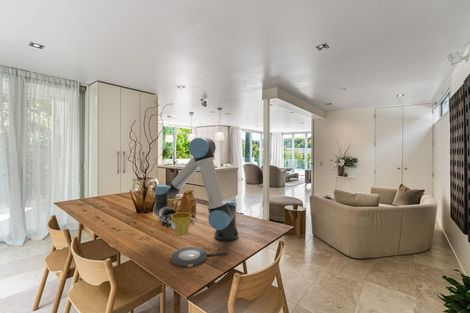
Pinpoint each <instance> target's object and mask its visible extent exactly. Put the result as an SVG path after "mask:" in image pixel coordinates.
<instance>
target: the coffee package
mask: <svg viewBox="0 0 470 313" xmlns="http://www.w3.org/2000/svg"><path fill="white" fill-rule="evenodd" d="M193 192H194V190H193V189H192V190H187V191H185V192H183V194H182V196H181V198H180V207H179V208H180V211H179V213H182V212H185V213H190V214H191V215H193V218H195V217H196V216H197V201H196V198H195V196H194V194H193Z"/></svg>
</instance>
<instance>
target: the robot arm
mask: <svg viewBox="0 0 470 313" xmlns="http://www.w3.org/2000/svg"><path fill="white" fill-rule="evenodd" d="M216 149H217V146H216V143H215V141H214V140H213V139H211V138H209V137H202V136H200V137H194V138H193V139H192V140H191V141H190V142H189V145H188V152H189V154H190V156H192V157H191V159H189V161H188V162H187V163H186V164H185V165H184V167H183V168H182V169H181V171H180V172H179V173H178V174H177V175H175V176H176V177H174V179H173V180H172V181H171V182H170V183H169V184H168V185H167V184H160V185H159V184H158V185H156V186H155V188H154V190H155V191H154V198H155V199H154V200H155V201H154V202H155V203H154V205H153V209H152V210H153V213H154V215H155V216H157V217H159V221H160V223H161V225H162V227H165V228H171V229H172V230H174V229H175V223H173V222H172V221H171V215H173V214H175V213H177V212H176V210H175V209H173V208H171V207H170V206H169V199H170V198H172V197H175V196H177V195H179V194H180V191H181V189H182V188H183V186H185V185H186V183H187V182H188V181H189V180H190V179H191V178H192V176H193V175H195V173H196V172H197V171H198V169H199V171H200V175H201V178H202V182H203V186H204V190H205V193H206V196H207V200H208V204H209V205H208V207H207V209H208V213H209V214H208V224H209V226H210V227H211V228H212V229H214V230H215V232H214V238H215V240H217V241H221V242H231V241H235V240H237V239H238V238H239V231H238V228H237V225H236V224H237V223H236V222H237V221H236V220H237V219H236V218H237V215H236V214H237V203H236V201H234V200H225V199H224V197H223V193H222V190H221V186H220V181H219V178H218V175H217V171H216V167H215V165H214V159H215V152H216ZM190 224H191V225H193V226H194V225H196V219H195V218H194V217H193V215H191V222H190Z"/></svg>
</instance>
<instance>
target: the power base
mask: <svg viewBox="0 0 470 313" xmlns="http://www.w3.org/2000/svg"><path fill="white" fill-rule="evenodd" d="M228 254H229V252H228V251H225V252H214V253H208V252H207V251H206V250H205V249H203V248H201V247H195V246H194V247H193V246H191V247H183V248H179V249H177V250H176V251H173V253H172V254H171V257H170V258H171V260H170V261H171V263H172V264H174V266H178V267H182V268H191V267H195V266H199V265H201V264H203V263H205V262H206V260H207V258H208V257H212V256H219V255H220V256H222V255H228Z"/></svg>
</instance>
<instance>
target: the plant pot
mask: <svg viewBox="0 0 470 313" xmlns="http://www.w3.org/2000/svg"><path fill="white" fill-rule="evenodd" d="M171 221H172V222H173V223H175V229H173V230H174V231H173V232H174V235H175V236H178V237H182V236H186V235H187V234H188V233H189V228H190V224H191V223H190V222H191V214H190V213H185V212H182V213H181V212H176V213H175V214H173V215H171Z"/></svg>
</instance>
